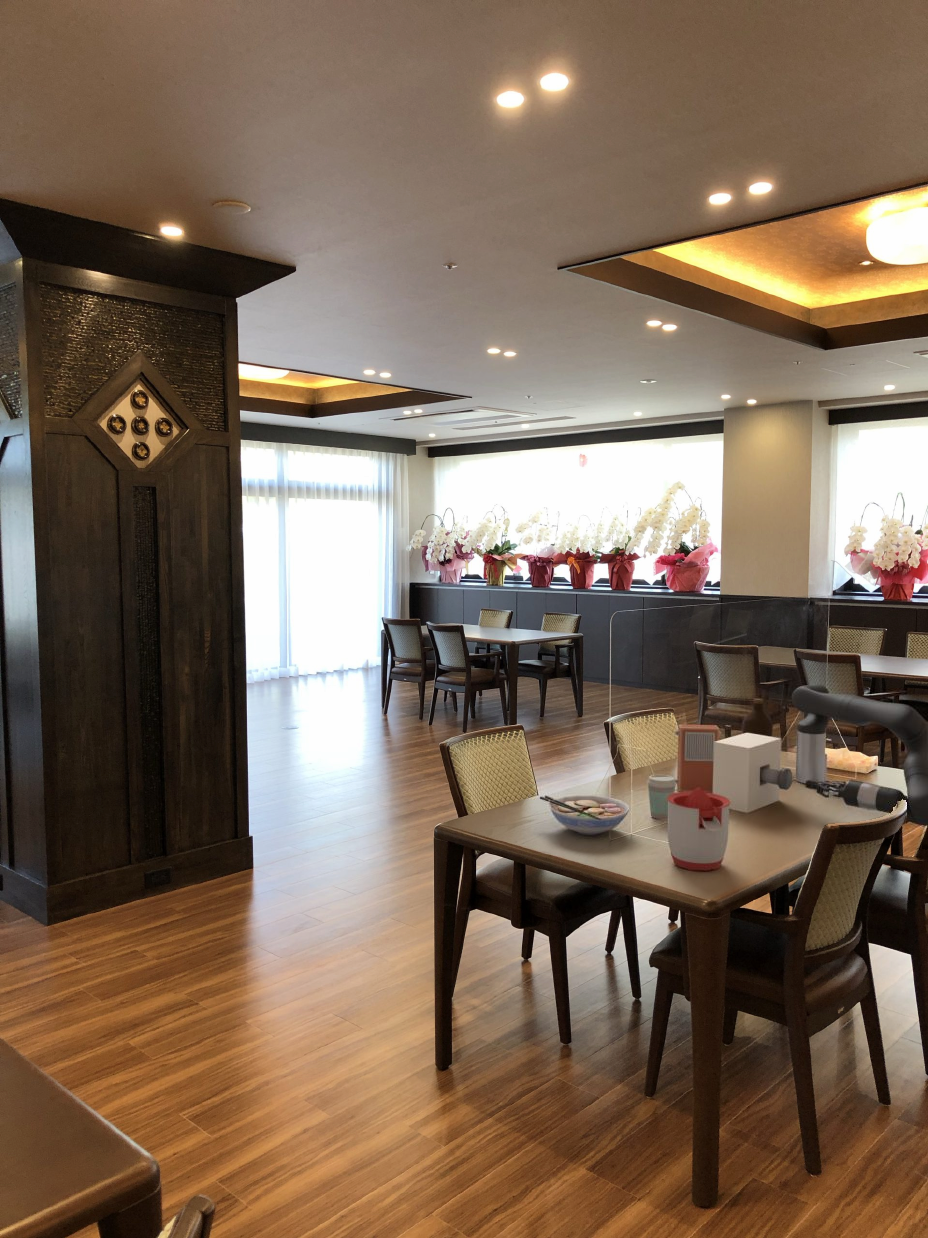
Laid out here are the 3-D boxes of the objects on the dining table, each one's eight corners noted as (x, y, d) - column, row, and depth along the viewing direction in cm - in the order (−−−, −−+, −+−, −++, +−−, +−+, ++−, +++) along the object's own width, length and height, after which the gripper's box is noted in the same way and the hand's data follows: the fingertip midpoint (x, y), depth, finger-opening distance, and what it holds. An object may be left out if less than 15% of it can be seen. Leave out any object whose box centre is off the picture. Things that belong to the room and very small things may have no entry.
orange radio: (672, 786, 315) (718, 788, 314) (675, 792, 308) (722, 793, 307) (674, 723, 313) (720, 724, 312) (676, 728, 306) (723, 729, 305)
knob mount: (744, 792, 308) (746, 732, 306) (779, 800, 299) (781, 738, 297) (712, 804, 294) (714, 741, 292) (747, 813, 285) (749, 748, 284)
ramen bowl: (649, 836, 263) (649, 808, 262) (585, 850, 251) (585, 820, 250) (591, 814, 284) (591, 787, 283) (530, 826, 272) (530, 798, 271)
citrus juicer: (682, 879, 230) (684, 799, 228) (656, 855, 247) (658, 780, 245) (742, 875, 233) (744, 796, 231) (712, 852, 250) (714, 778, 248)
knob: (764, 782, 295) (765, 762, 294) (792, 787, 289) (792, 767, 288) (754, 786, 291) (755, 765, 290) (782, 791, 284) (782, 771, 284)
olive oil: (763, 772, 335) (766, 702, 333) (735, 767, 342) (737, 699, 340) (776, 766, 343) (778, 699, 341) (748, 762, 350) (751, 695, 348)
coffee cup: (678, 815, 283) (679, 776, 282) (670, 823, 275) (671, 782, 274) (651, 811, 287) (651, 772, 286) (642, 818, 279) (643, 779, 278)
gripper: (874, 778, 274) (817, 767, 286) (855, 786, 264) (796, 775, 277) (873, 803, 274) (816, 791, 287) (853, 812, 265) (795, 800, 278)
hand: (806, 783), depth 282 cm, fingers closed
